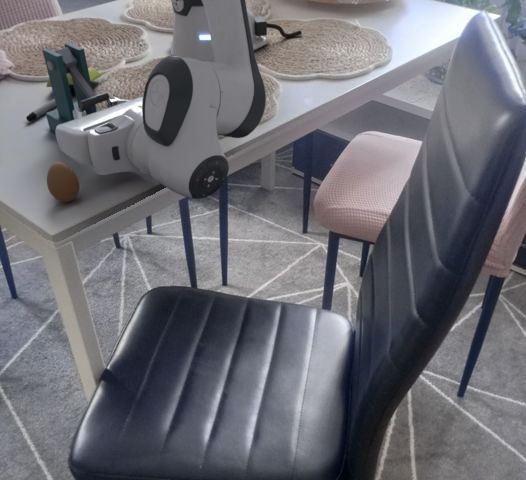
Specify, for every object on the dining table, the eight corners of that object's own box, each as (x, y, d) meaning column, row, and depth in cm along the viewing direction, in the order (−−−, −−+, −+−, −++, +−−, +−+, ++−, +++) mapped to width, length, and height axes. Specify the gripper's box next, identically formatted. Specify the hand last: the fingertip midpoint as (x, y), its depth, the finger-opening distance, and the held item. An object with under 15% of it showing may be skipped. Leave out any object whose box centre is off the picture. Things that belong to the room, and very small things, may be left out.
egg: (72, 210, 87) (62, 173, 83) (46, 205, 88) (35, 168, 84) (88, 195, 90) (79, 158, 86) (62, 190, 91) (52, 153, 87)
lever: (108, 103, 99) (110, 93, 97) (82, 112, 96) (84, 102, 94) (73, 55, 99) (74, 44, 97) (46, 63, 96) (47, 52, 94)
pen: (25, 120, 108) (25, 114, 107) (78, 87, 119) (78, 81, 118) (31, 124, 108) (31, 117, 107) (83, 90, 119) (84, 84, 118)
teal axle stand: (114, 134, 104) (99, 51, 95) (80, 148, 101) (60, 63, 91) (83, 117, 109) (65, 36, 100) (49, 129, 106) (27, 46, 96)
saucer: (58, 68, 121) (61, 79, 122) (42, 76, 114) (45, 87, 115) (99, 64, 120) (101, 75, 121) (85, 71, 113) (88, 83, 114)
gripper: (195, 98, 94) (143, 71, 100) (82, 139, 84) (33, 106, 90) (197, 136, 98) (147, 108, 105) (90, 179, 88) (43, 145, 95)
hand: (93, 107), depth 98 cm, fingers closed on lever, 5 cm apart
